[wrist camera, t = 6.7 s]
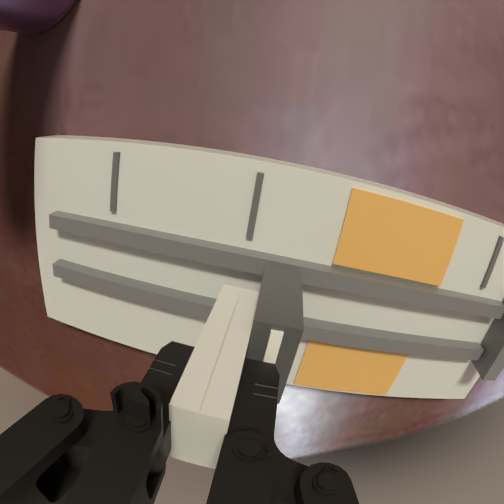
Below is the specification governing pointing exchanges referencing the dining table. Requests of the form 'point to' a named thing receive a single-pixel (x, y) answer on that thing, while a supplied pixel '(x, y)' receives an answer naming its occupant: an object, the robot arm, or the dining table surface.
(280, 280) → the fader
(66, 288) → the console
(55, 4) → the beverage can
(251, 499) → the robot arm
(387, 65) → the dining table surface
